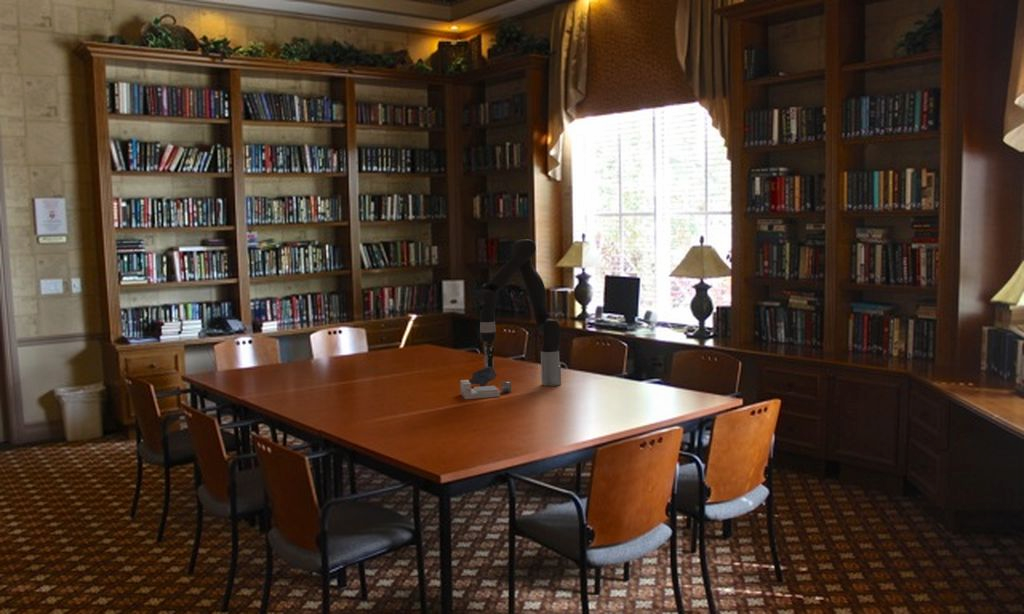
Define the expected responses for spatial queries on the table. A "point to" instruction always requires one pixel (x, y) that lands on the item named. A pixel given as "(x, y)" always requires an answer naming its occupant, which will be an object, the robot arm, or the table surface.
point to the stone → (483, 376)
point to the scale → (478, 391)
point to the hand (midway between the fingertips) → (489, 365)
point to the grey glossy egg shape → (487, 362)
